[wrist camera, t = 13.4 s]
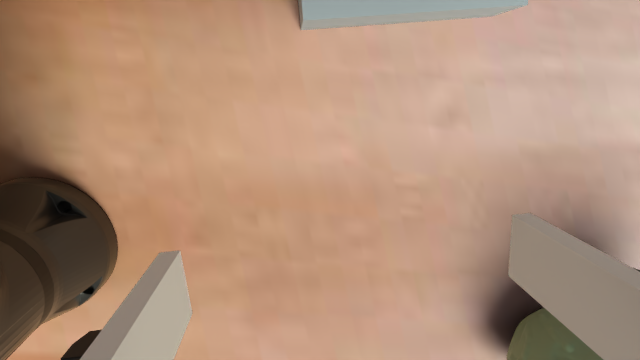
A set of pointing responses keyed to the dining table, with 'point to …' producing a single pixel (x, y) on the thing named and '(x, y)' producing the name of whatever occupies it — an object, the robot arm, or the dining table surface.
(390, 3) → the socket block
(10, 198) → the robot arm
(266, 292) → the dining table surface
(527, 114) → the dining table surface
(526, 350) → the cabbage
